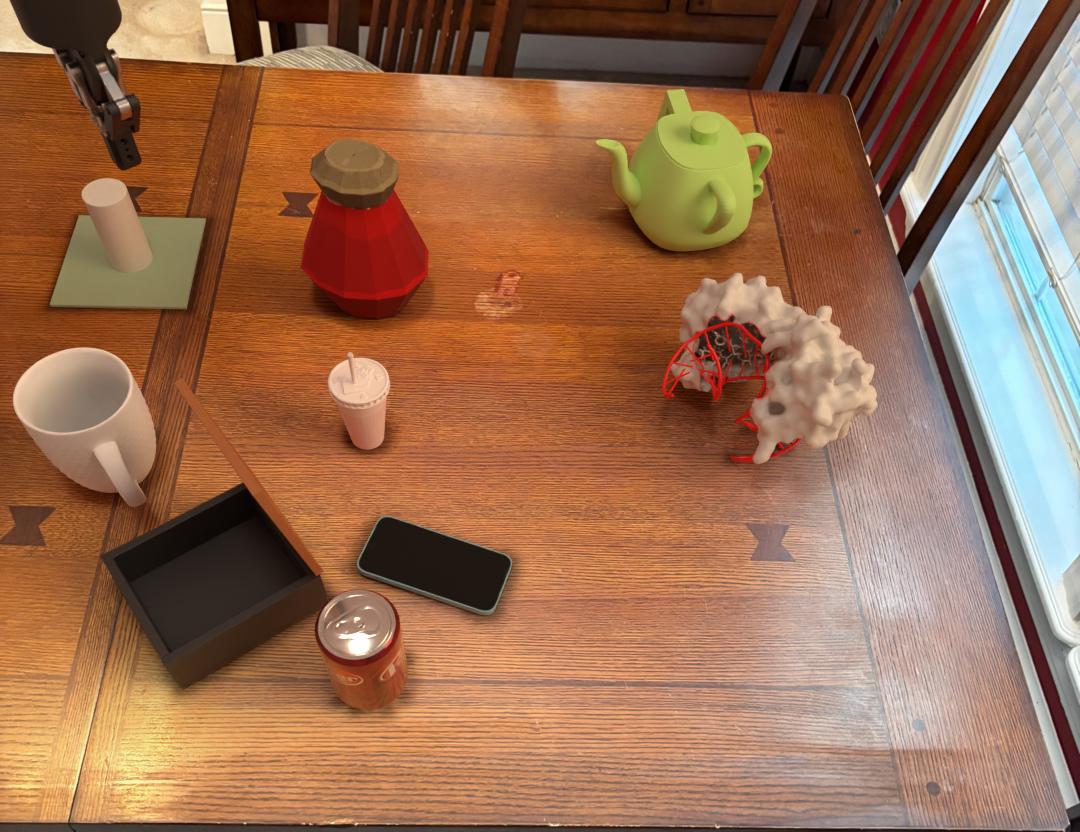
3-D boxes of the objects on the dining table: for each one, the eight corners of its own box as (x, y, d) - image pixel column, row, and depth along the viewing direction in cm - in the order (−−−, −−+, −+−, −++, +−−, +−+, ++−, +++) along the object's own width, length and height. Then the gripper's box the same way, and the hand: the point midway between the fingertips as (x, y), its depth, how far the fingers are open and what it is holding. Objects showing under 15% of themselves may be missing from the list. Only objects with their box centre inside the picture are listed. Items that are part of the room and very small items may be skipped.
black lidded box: (182, 690, 85) (164, 666, 80) (120, 584, 90) (99, 555, 85) (329, 603, 91) (320, 576, 85) (262, 509, 96) (251, 477, 91)
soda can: (398, 634, 89) (389, 577, 79) (416, 700, 86) (408, 650, 76) (325, 652, 88) (306, 597, 78) (340, 721, 84) (322, 673, 74)
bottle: (289, 318, 110) (255, 178, 93) (332, 245, 117) (307, 103, 99) (411, 349, 108) (399, 213, 91) (447, 274, 115) (442, 135, 98)
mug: (203, 506, 95) (167, 431, 84) (101, 555, 92) (49, 483, 80) (147, 412, 101) (107, 330, 90) (49, 454, 97) (-6, 374, 86)
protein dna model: (661, 488, 109) (856, 512, 92) (600, 368, 99) (809, 369, 81) (735, 383, 118) (927, 386, 100) (687, 262, 107) (893, 243, 90)
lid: (252, 495, 70) (261, 490, 70) (173, 382, 75) (181, 377, 75) (316, 576, 85) (323, 571, 85) (246, 477, 90) (253, 473, 90)
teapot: (769, 208, 126) (802, 114, 114) (704, 290, 117) (732, 197, 105) (654, 155, 130) (673, 59, 118) (582, 230, 121) (595, 135, 109)
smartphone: (492, 615, 90) (353, 568, 91) (491, 620, 91) (354, 573, 92) (515, 556, 94) (381, 512, 95) (514, 561, 95) (382, 517, 96)
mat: (50, 307, 108) (49, 304, 108) (80, 217, 116) (79, 214, 116) (186, 309, 109) (185, 307, 109) (206, 220, 118) (205, 218, 117)
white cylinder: (107, 272, 111) (76, 205, 103) (115, 244, 114) (86, 177, 105) (149, 273, 112) (122, 207, 103) (156, 245, 114) (130, 178, 105)
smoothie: (327, 442, 101) (307, 356, 89) (362, 405, 104) (347, 317, 92) (373, 468, 99) (359, 385, 87) (407, 430, 102) (399, 345, 90)
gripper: (-35, -64, 68) (57, 139, 83) (37, 20, 63) (121, 220, 78) (61, -90, 71) (134, 112, 86) (137, -12, 66) (200, 188, 81)
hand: (128, 163), depth 82 cm, fingers closed
